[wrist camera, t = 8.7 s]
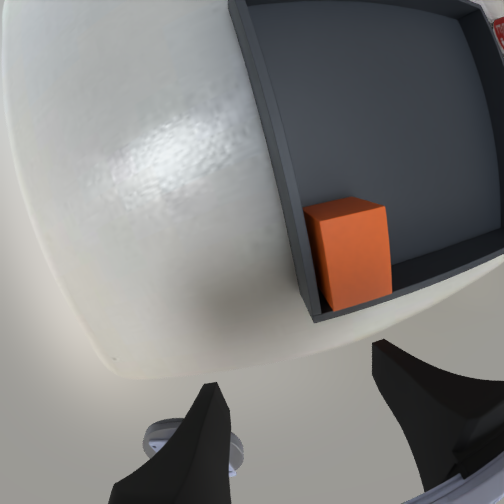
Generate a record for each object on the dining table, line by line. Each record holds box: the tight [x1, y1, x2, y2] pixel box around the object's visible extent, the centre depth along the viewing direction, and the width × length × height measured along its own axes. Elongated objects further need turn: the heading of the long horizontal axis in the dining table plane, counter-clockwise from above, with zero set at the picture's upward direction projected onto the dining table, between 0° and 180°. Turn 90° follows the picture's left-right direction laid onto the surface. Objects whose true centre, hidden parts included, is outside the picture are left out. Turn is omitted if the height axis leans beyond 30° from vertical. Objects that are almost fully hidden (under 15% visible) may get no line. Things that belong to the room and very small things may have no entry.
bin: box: [228, 0, 504, 323], centre depth 16 cm, size 23×23×4 cm
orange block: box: [303, 197, 392, 312], centre depth 18 cm, size 6×4×5 cm
